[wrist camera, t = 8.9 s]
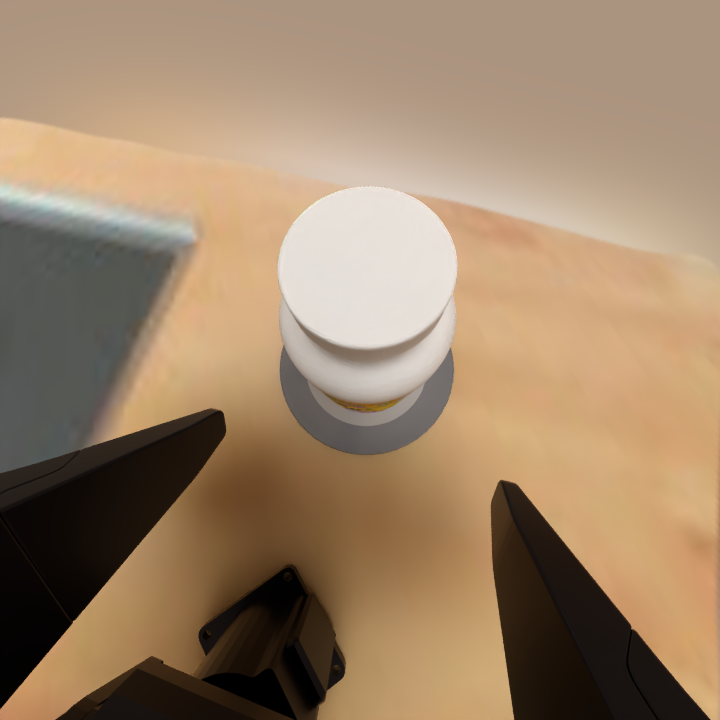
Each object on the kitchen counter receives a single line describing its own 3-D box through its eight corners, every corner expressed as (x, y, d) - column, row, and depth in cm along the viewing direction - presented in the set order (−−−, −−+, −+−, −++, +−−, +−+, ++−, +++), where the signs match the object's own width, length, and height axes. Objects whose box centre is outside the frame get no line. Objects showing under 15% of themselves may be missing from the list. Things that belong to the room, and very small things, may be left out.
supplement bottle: (298, 368, 20) (182, 266, 7) (363, 302, 21) (357, 115, 8) (370, 436, 19) (375, 451, 6) (435, 362, 20) (551, 250, 7)
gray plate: (341, 490, 19) (339, 493, 18) (254, 345, 22) (248, 341, 21) (484, 389, 20) (490, 387, 19) (386, 263, 23) (387, 255, 22)
